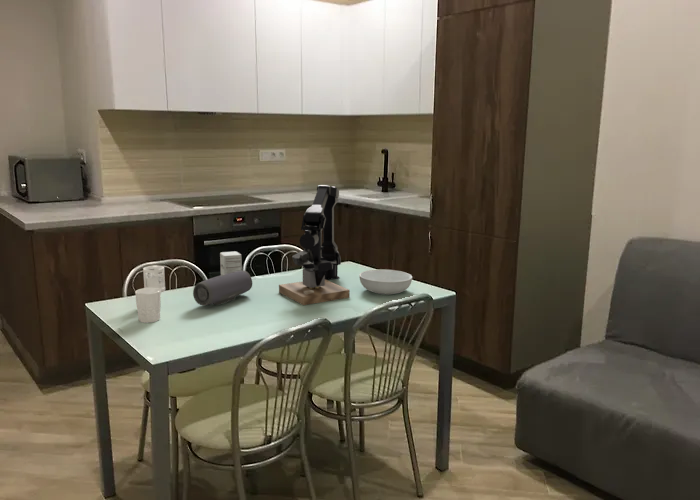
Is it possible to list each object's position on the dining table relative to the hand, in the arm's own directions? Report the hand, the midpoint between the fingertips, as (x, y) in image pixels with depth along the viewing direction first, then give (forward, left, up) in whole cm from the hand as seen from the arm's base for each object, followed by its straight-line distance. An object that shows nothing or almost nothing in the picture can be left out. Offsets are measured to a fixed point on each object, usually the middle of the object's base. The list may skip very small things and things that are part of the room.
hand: (313, 283), depth 227 cm
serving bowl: (-27, +10, -5) cm, 29 cm away
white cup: (+62, -1, -5) cm, 62 cm away
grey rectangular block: (0, 0, -3) cm, 3 cm away
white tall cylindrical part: (+56, -16, -5) cm, 58 cm away
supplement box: (+21, -32, -5) cm, 39 cm away
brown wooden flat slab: (0, 0, -4) cm, 4 cm away
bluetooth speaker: (+33, -9, -5) cm, 35 cm away
